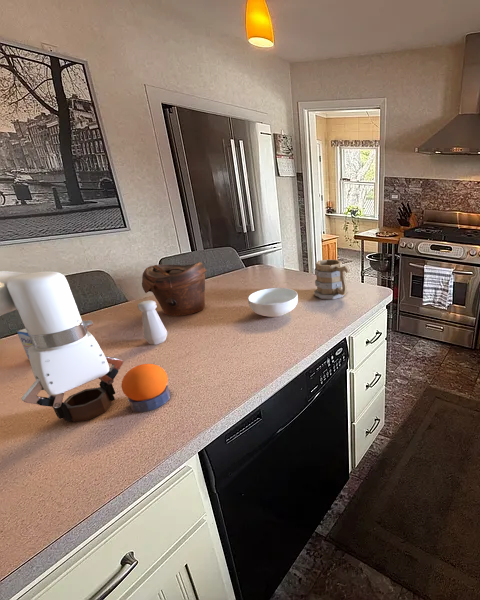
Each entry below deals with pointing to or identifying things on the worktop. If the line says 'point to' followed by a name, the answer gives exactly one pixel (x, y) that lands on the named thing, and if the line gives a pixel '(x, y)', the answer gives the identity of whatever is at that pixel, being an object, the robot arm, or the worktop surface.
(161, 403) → the cradle
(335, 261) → the tankard
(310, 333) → the worktop surface
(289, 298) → the cereal bowl
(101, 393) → the napkin ring
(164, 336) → the salt shaker
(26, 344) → the medicine box
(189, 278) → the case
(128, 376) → the ball
